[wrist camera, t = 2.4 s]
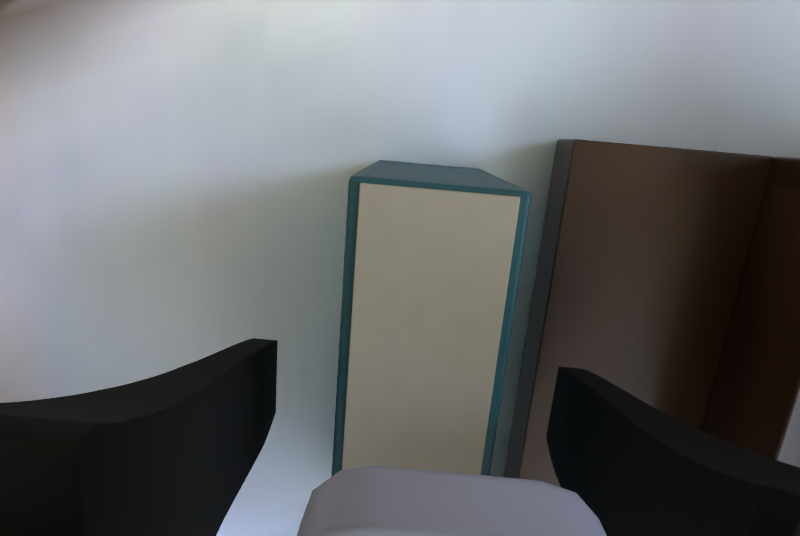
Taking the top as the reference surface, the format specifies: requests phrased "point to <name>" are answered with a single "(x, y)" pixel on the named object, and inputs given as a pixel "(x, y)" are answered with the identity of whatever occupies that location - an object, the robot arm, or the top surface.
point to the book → (426, 316)
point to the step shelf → (668, 293)
